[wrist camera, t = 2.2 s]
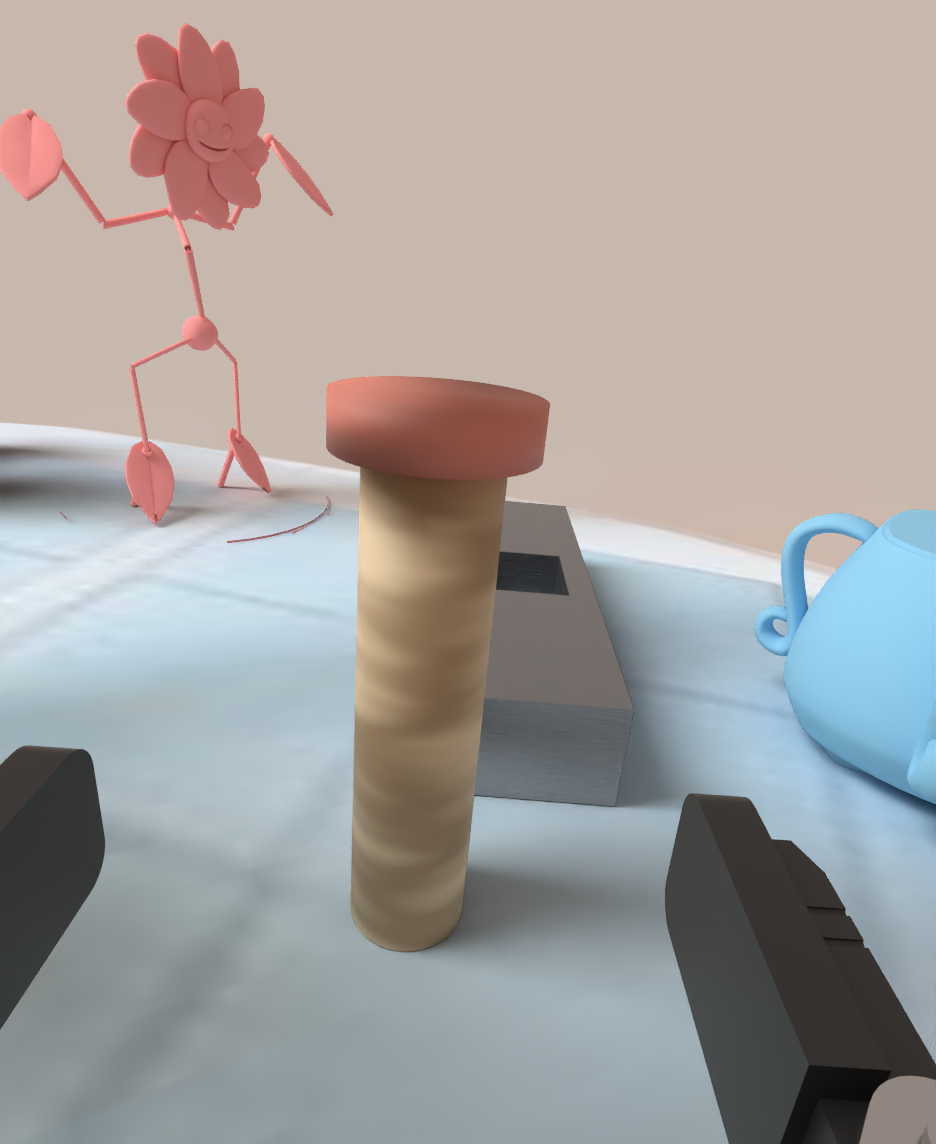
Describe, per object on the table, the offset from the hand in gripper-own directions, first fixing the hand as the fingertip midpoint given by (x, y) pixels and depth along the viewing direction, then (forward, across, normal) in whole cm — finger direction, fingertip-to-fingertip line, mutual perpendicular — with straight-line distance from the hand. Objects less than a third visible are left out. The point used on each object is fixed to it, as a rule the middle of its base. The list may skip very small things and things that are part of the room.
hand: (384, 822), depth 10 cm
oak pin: (+12, 0, +14) cm, 18 cm away
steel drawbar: (+32, -4, +14) cm, 35 cm away
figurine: (+52, +20, +13) cm, 57 cm away
